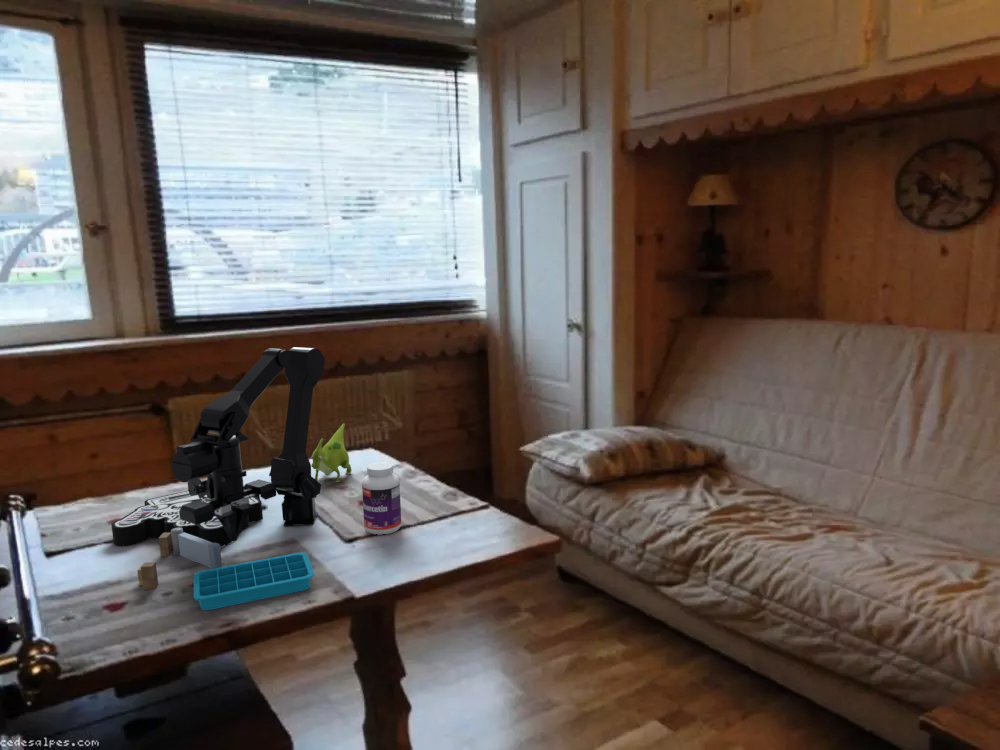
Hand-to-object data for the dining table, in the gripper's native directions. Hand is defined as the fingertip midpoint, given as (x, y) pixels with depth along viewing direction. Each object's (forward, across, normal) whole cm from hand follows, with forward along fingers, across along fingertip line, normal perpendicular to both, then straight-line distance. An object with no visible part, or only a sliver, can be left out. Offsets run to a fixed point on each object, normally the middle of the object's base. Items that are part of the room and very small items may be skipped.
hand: (233, 540), depth 144 cm
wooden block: (+3, +17, -2) cm, 17 cm away
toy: (+3, -43, -18) cm, 47 cm away
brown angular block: (+3, +8, -12) cm, 14 cm away
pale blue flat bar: (+3, +6, -4) cm, 8 cm away
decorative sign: (+3, -7, -22) cm, 24 cm away
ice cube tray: (+3, +7, +16) cm, 18 cm away
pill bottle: (+3, -25, +18) cm, 31 cm away
